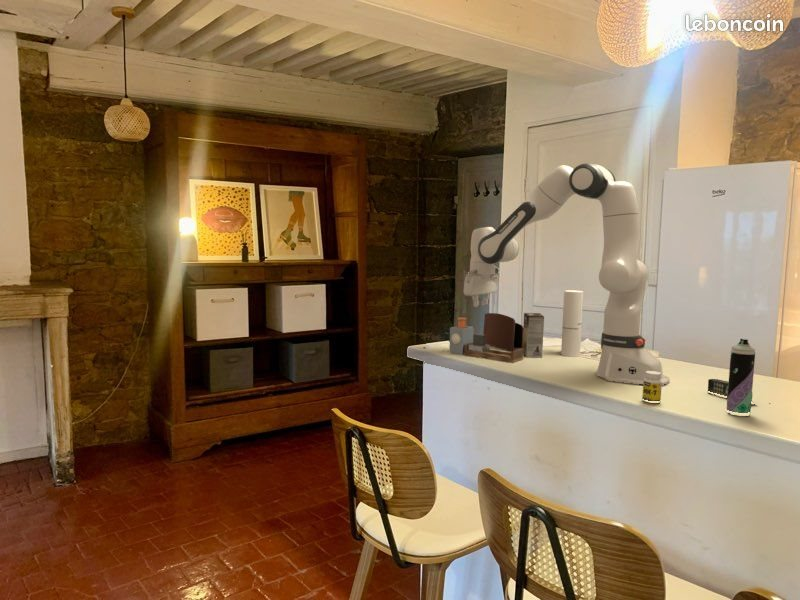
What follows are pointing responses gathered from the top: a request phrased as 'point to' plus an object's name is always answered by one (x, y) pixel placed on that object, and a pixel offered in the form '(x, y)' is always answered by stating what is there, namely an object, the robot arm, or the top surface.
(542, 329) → the coffee box
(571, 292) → the cylindrical container
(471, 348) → the carriage
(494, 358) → the rail bed
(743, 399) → the spray can
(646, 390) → the supplement bottle
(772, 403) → the top surface
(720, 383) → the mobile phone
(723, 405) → the top surface
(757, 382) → the top surface
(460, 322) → the plunger
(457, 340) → the grey block
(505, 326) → the letter holder
